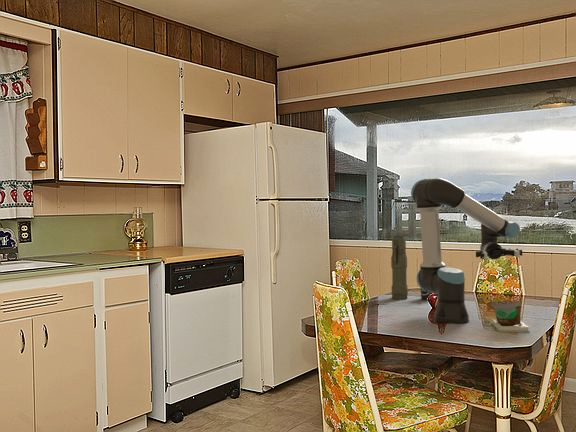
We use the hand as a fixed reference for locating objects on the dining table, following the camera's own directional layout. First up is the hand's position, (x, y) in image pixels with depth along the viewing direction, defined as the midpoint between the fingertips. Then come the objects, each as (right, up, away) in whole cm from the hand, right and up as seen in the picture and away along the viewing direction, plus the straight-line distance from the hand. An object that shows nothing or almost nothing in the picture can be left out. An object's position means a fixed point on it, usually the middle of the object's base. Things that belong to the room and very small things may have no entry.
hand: (502, 255), depth 259 cm
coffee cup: (-17, -29, +66) cm, 74 cm away
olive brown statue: (-32, -29, +70) cm, 82 cm away
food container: (-1, -29, -9) cm, 31 cm away
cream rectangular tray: (0, -30, -9) cm, 31 cm away
